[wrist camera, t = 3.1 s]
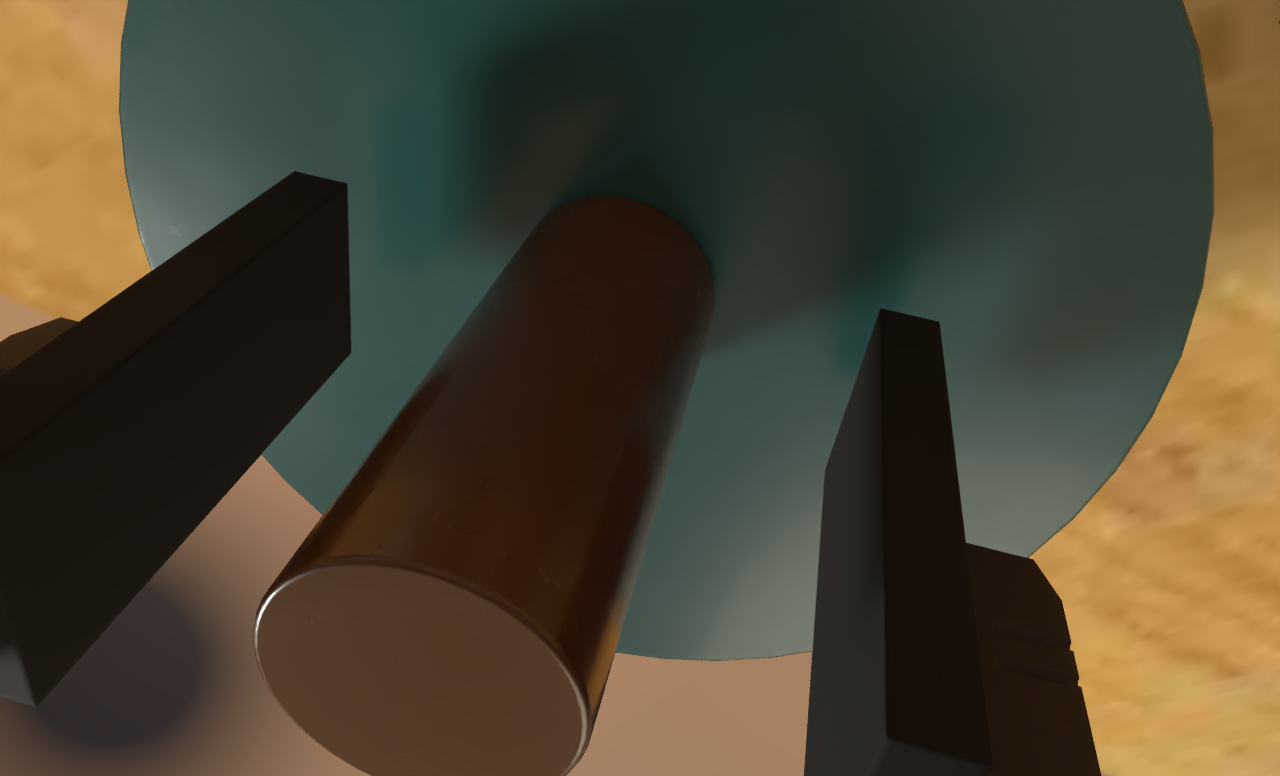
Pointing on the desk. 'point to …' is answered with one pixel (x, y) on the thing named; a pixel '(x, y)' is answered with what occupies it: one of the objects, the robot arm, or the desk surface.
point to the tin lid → (664, 310)
